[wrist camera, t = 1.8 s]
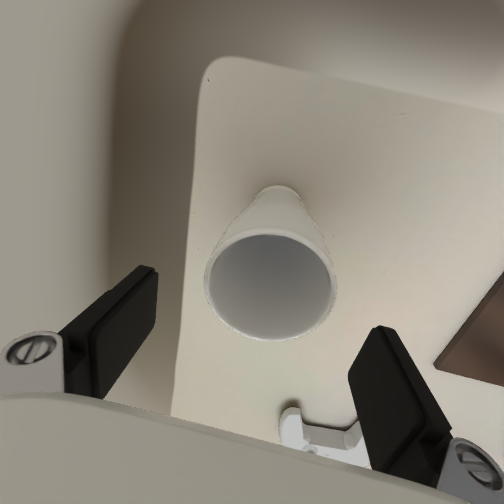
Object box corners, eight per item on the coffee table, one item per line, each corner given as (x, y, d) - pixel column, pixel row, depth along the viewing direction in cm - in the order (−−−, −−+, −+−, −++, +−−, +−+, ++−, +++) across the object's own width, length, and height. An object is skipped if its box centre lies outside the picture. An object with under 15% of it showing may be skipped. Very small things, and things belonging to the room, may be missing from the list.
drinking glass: (321, 187, 24) (365, 253, 11) (297, 248, 27) (308, 358, 14) (254, 167, 24) (215, 207, 11) (238, 230, 27) (191, 323, 14)
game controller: (390, 433, 33) (375, 490, 36) (378, 406, 38) (365, 459, 40) (281, 416, 35) (274, 472, 37) (281, 391, 39) (274, 443, 41)
